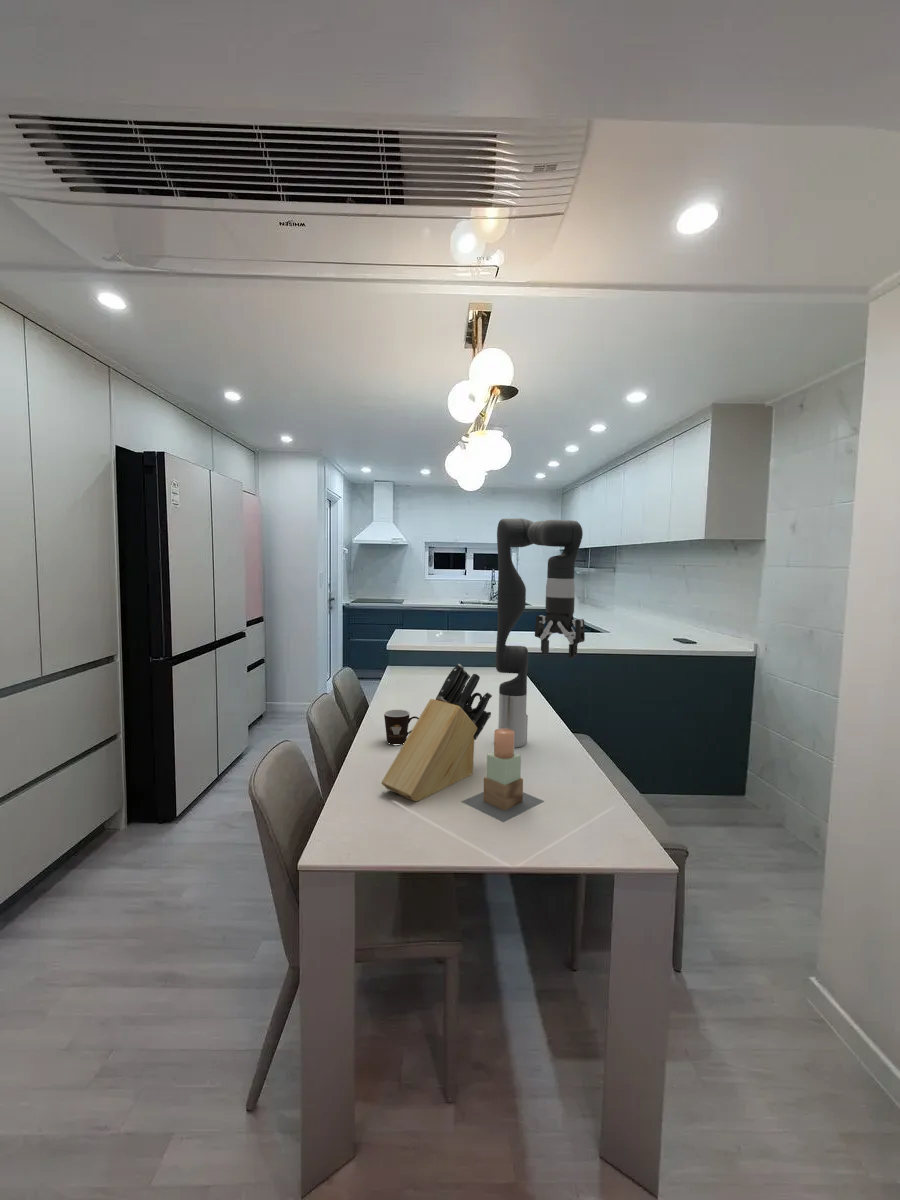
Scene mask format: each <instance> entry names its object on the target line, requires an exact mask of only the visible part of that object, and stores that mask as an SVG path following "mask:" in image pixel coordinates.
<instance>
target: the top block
mask: <svg viewBox="0 0 900 1200" xmlns="http://www.w3.org/2000/svg"><path fill="white" fill-rule="evenodd" d="M521 761H522V755H521V754H518V753H515V752H514V757H512V758H508V759H503V758H498V757H496V756H494V751H493V752H491V753H488V754H487V755H486V777H487V778H488V779H491V780H493V781H496V782H498V783H500V784H503V785H507V784H509V783H511V782H514V781H516V780H518V779H520V778H521V768H522V767H521V765H522V762H521Z"/></svg>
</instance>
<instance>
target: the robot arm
mask: <svg viewBox="0 0 900 1200" xmlns="http://www.w3.org/2000/svg"><path fill="white" fill-rule="evenodd" d="M583 535H584V533H583V527H582V525H581V524H580V522H579V521H577V520H572V519H569V520H567V519H546V520H537V521H533V520H530V519H528V518H527V519H525V518H522V517H521V518H501V519H500V520H499V521H498V524H497V529H496V542H497V543H496V544H497V560H498V561H497V564H498V569H497V570H498V573H497V575H498V576H497V578H498V579H497V597H496V598H497V599H496V601H497V604H496V605H497V630H496V631H497V633H496V646H495V659H494V660H495V669H496V672H498V673H500V674H517V676H515V677H514V678H512V679H510V680H507V681H504V682H502V683H500V684H499V687H498V696H499V697H498V723H497V725H498V726H497V729H501V728H505V729H511V730H513V731H514V748H521V747H524V746H526V743H528V725H529V724H528V719H529V715H528V714H527V698H528V697H527V696H528V694H527V692H528V691H527V690H528V689H527V688H528V685H527V684H528V670H529V669H528V668H529V667H528V666H529V650H528V648H527V647H526V645H524V646H523V645H506V644H507V640H508V638H509V637H508V636H510V633H511V632H512V630H513V628H514V626H515V625H516V623H518V621H519V619H520V618H521V616H522V615H523V614H524V612H525V609H526V605H527V604H526V601H527V599H526V598H527V597H526V596H527V594H526V593H527V588H526V584H525V583H524V581H523V579H522V577H521V575H520V574H519V572H518V571H517V568H515V565H514V563H513V560H512V555H511V554H512V553H511V548H524V547H528V546H532V545H536V546H542V547H543V546H545V547H551V548H552V547H555V548H557V547H560V548H562V547H563V551H562V553H561V554H558V555H553V556H550V557H549V558H548V559H547V576H546V577H547V579H546V584H545V609H544V610H545V612H546V614H545V615H542V614H540V615H536V617H535V626H534V627H535V628H534V637H536V638H539V640H540V652H541V654H542V655H549V652H550V639H549V638H550V637H551V636H552V635H553V634H559V635H563V636H564V637H565V638H566V639H567V640H568V642H569V644H568V658H569V659H575V658H576V657H577V655H578V646H579V645H578V644H580V643H584V642H585V639H586V638H585V637H586V636H585V634H586V633H585V632H586V631H585V620H584V619H583V618H579V619H575V618H574V614H575V599H576V598H575V596H576V593H575V592H576V586H575V570H576V569H575V565H576V560H577V557H578V552H579V551H580V550H579V549H580V547H581V543H582V540H583ZM545 624H546V626H545ZM573 627H574V628H575V629H574V628H573Z"/></svg>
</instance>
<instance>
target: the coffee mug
mask: <svg viewBox="0 0 900 1200" xmlns="http://www.w3.org/2000/svg"><path fill="white" fill-rule="evenodd" d="M383 715H384V716H383V717H384V727H385V733H386V734H385V735H386V743H387V742H388V743H390V744H403V743H405V741H406V739H407V738H408V736H409V734H410V733H411V731H412V729H411V730H409V731H408V729H409V724H410V722H411V721H412V720H413V719H415V720H416V719H417V720H418V719H419V717H418V716H411V717H410V711H408V710H406V709H390V710H386V711H384V712H383ZM388 743H387V744H388ZM403 745H404V744H403Z"/></svg>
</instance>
